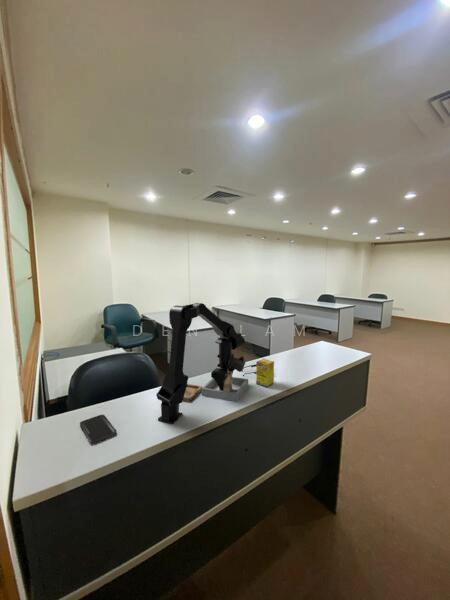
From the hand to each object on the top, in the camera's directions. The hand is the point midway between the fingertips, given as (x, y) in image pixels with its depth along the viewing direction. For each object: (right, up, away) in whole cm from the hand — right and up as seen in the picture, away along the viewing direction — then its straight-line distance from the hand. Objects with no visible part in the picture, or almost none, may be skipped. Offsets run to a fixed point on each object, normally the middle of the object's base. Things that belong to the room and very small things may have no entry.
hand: (225, 386), depth 109 cm
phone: (-43, -5, -27) cm, 51 cm away
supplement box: (+18, -1, +6) cm, 19 cm away
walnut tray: (-18, -2, -3) cm, 18 cm away
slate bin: (0, -2, 0) cm, 2 cm away
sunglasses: (+14, 0, +19) cm, 24 cm away
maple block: (0, -2, 0) cm, 2 cm away
